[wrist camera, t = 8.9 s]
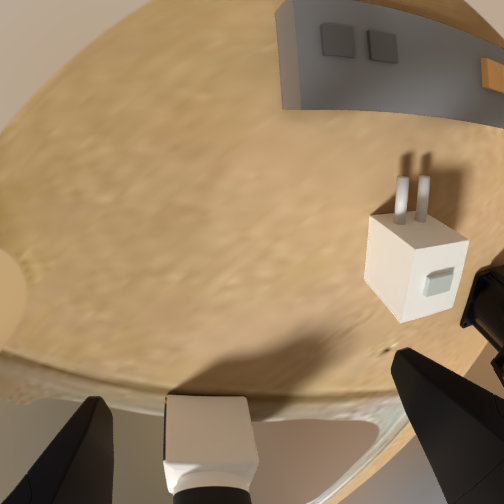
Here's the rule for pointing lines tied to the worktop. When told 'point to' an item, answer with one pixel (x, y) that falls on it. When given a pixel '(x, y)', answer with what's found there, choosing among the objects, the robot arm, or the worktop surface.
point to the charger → (413, 257)
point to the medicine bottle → (208, 449)
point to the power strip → (385, 63)
